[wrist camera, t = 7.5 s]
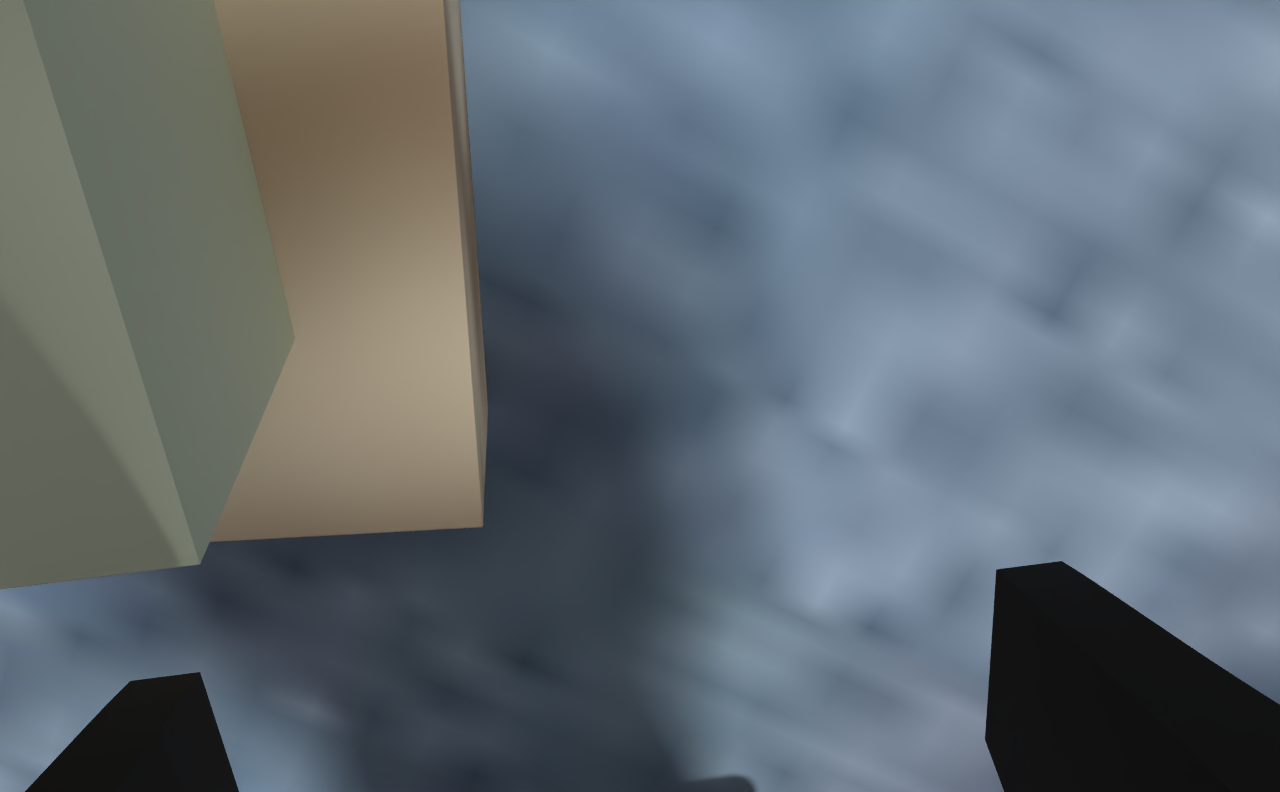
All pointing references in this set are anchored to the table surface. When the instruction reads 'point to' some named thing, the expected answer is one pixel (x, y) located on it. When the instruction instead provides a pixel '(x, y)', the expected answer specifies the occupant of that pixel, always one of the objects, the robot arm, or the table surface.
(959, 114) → the table surface
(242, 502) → the base block
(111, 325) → the sage cube
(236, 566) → the table surface
